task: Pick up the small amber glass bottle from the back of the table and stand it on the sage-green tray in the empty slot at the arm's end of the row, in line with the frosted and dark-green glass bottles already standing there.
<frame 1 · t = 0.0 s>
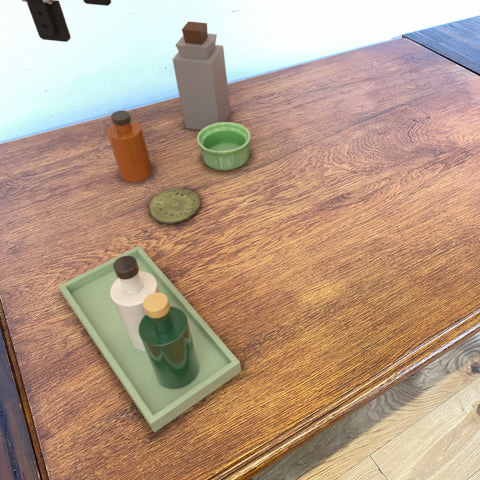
hand: (78, 20, 57), 30 cm above the table, tool pointing down, fingers open, 9 cm apart
frosted bottle: (150, 334, 63), point 1 cm above the table, touching tray
ramekin: (226, 158, 90), on the table
medallion: (175, 207, 80), on the table
amber bottle: (136, 172, 86), on the table
tray: (147, 331, 64), on the table
perfume bottle: (208, 121, 98), on the table
green glass bottle: (177, 369, 60), point 1 cm above the table, touching tray
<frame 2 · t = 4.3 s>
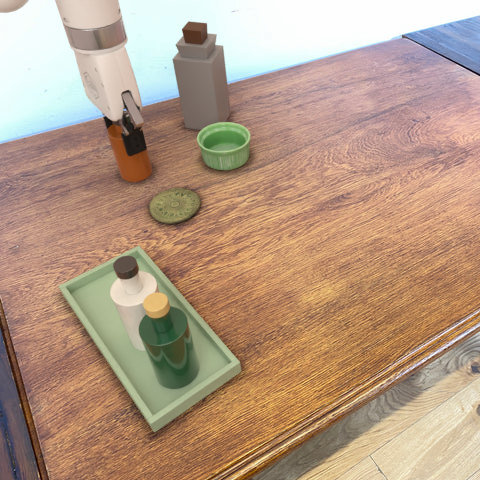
hand: (128, 142, 82), 6 cm above the table, tool pointing down, fingers closed on amber bottle, 5 cm apart
amber bottle: (136, 172, 86), on the table, touching gripper
everything else where it was.
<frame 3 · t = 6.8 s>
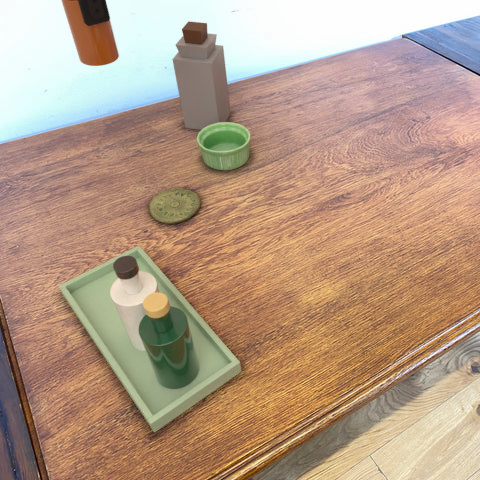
hand: (87, 13, 67), 27 cm above the table, tool pointing down, fingers closed on amber bottle, 5 cm apart
amber bottle: (99, 57, 71), point 21 cm above the table, touching gripper
everything else where it was.
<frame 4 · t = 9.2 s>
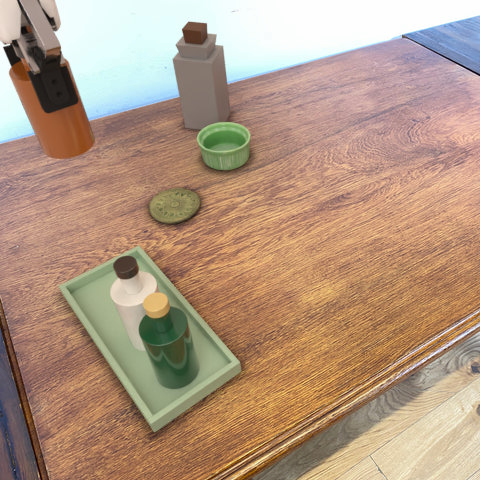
hand: (48, 92, 49), 28 cm above the table, tool pointing down, fingers closed on amber bottle, 5 cm apart
amber bottle: (68, 144, 53), point 23 cm above the table, touching gripper
everything else where it was.
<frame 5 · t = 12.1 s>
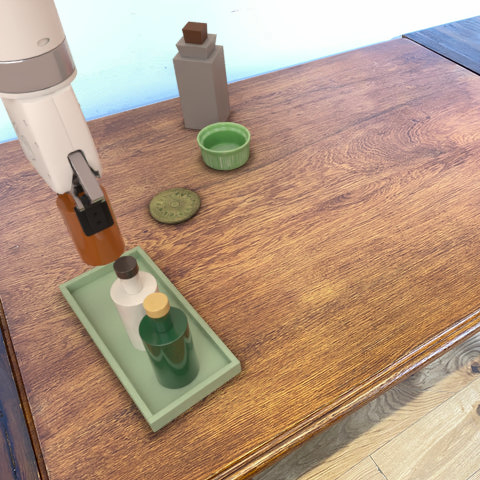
hand: (87, 214, 57), 15 cm above the table, tool pointing down, fingers closed on amber bottle, 5 cm apart
amber bottle: (102, 250, 62), point 9 cm above the table, touching gripper
everything else where it was.
when the fingers open (7 cm above the table, at t = 14.4 s): amber bottle stays where it is, resting on tray.
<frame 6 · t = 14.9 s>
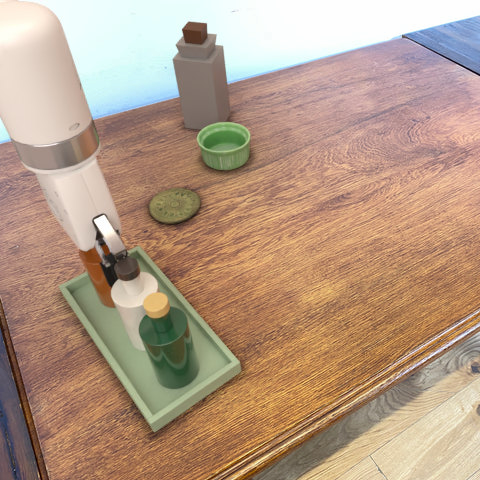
hand: (104, 256, 63), 8 cm above the table, tool pointing down, fingers open, 9 cm apart
amber bottle: (119, 292, 68), point 1 cm above the table, touching tray
everything else where it was.
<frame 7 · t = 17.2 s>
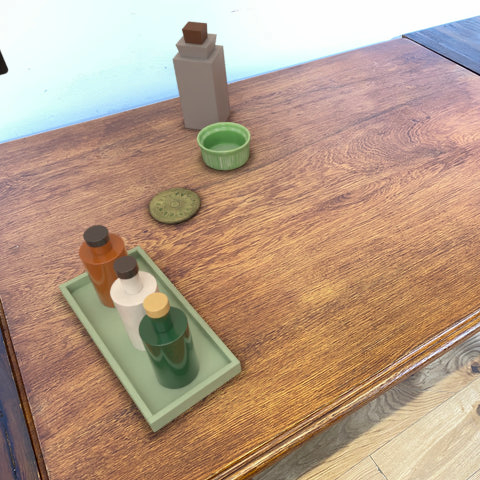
nothing on the table moved.
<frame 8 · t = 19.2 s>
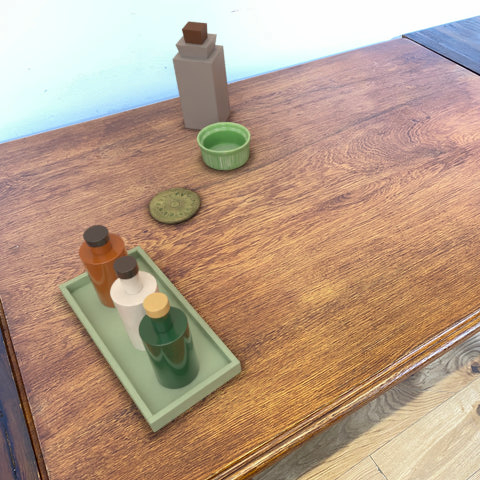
nothing on the table moved.
at the end: amber bottle 0.1 cm from the target spot in the tray, point 0.6 cm above the tray's base; amber bottle tilted 0°; frosted bottle tilted 0° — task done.
